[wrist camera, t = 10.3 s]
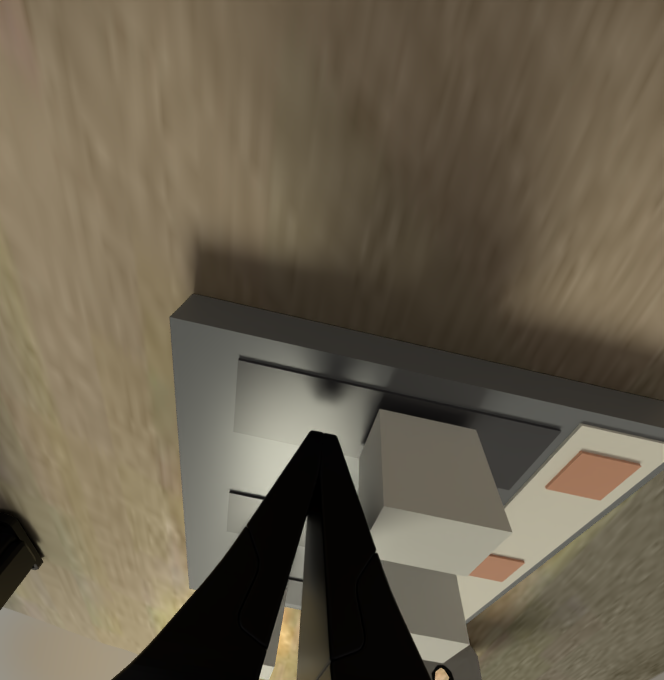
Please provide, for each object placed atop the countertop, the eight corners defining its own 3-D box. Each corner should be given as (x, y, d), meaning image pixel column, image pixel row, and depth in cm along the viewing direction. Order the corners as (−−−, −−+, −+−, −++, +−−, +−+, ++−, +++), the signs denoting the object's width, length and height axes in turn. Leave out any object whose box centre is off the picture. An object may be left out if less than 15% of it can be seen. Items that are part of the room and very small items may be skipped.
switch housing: (199, 560, 21) (187, 592, 20) (193, 293, 10) (166, 320, 9) (443, 608, 22) (449, 642, 20) (666, 402, 11) (710, 442, 10)
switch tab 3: (366, 562, 15) (366, 649, 13) (382, 536, 14) (385, 628, 11) (430, 574, 15) (442, 663, 13) (451, 550, 14) (469, 644, 11)
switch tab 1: (229, 596, 19) (208, 668, 16) (231, 578, 17) (208, 655, 15) (281, 606, 19) (268, 679, 16) (287, 589, 18) (274, 667, 15)
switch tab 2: (359, 458, 11) (356, 555, 9) (379, 408, 10) (383, 506, 7) (444, 476, 11) (466, 576, 9) (476, 430, 10) (512, 532, 7)
